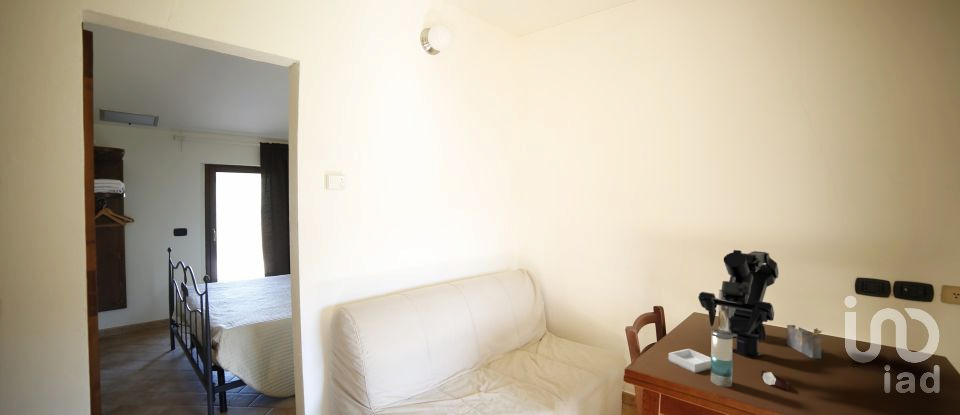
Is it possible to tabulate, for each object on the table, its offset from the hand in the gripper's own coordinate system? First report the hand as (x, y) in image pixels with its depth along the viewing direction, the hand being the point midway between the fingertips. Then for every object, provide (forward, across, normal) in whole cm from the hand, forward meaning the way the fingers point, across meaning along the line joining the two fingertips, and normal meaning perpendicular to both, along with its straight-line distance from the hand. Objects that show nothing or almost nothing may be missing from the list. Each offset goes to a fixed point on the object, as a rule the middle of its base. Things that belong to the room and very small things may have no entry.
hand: (728, 329), depth 110 cm
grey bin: (+10, -10, +9) cm, 16 cm away
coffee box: (-19, -9, +39) cm, 44 cm away
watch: (+8, +10, +12) cm, 18 cm away
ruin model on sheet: (-17, +13, +38) cm, 43 cm away
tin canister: (+15, 0, +4) cm, 15 cm away
